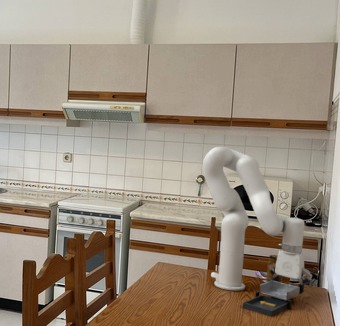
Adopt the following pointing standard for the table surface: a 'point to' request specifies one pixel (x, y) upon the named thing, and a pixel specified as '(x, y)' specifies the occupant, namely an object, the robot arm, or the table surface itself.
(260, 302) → the key
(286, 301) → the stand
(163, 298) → the table surface
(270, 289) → the scoop
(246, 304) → the tray
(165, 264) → the table surface
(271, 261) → the condiment
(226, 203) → the robot arm
